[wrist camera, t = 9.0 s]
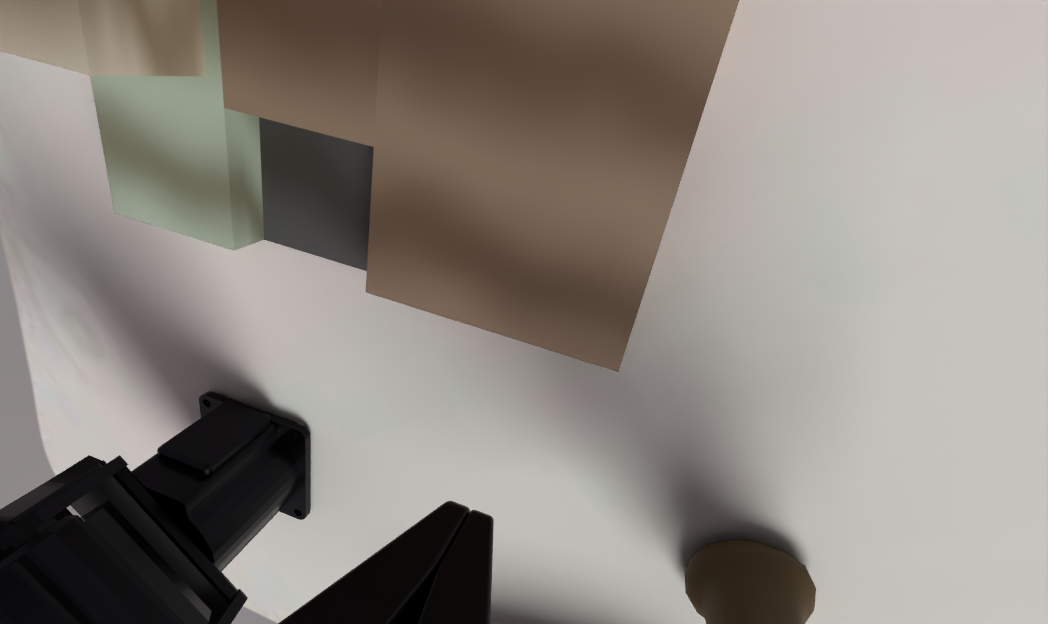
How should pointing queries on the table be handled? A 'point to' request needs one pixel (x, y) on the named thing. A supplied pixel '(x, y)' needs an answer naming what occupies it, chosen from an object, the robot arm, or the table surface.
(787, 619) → the kendama
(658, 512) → the table surface
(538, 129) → the trap deck
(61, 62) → the birch block
